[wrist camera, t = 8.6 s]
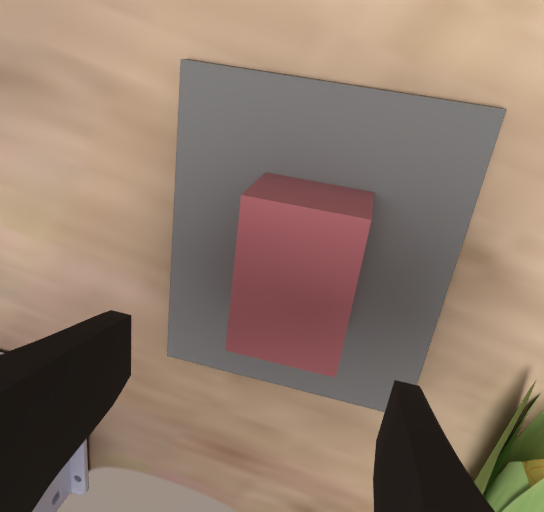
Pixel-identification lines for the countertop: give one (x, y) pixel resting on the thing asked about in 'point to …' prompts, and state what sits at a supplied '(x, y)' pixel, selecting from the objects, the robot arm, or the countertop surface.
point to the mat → (337, 171)
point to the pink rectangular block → (296, 270)
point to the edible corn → (516, 468)
